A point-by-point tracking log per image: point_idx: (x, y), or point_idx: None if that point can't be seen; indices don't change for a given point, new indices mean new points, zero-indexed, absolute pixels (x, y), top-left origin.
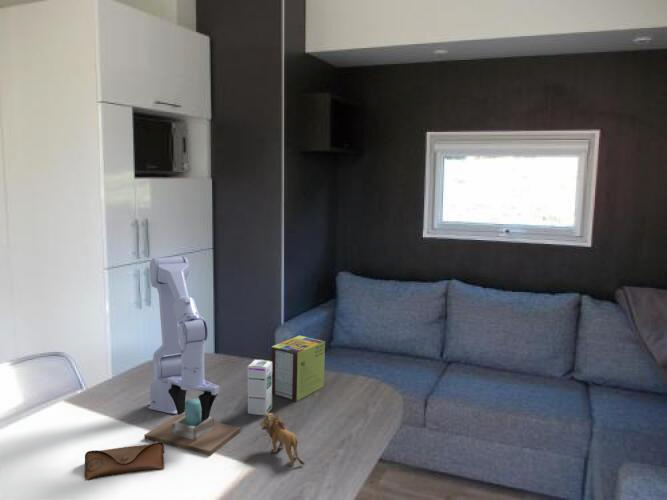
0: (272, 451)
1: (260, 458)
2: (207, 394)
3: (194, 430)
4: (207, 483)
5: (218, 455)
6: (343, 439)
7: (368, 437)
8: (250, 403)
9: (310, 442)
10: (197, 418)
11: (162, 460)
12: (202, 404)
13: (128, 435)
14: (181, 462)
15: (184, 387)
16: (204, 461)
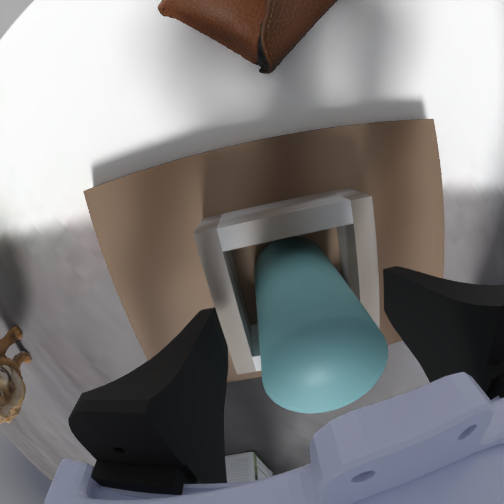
0: (13, 327)
1: (4, 283)
2: (127, 462)
3: (210, 227)
4: (2, 83)
5: (76, 212)
6: (17, 423)
7: (13, 436)
8: (246, 478)
9: (25, 398)
10: (258, 304)
11: (190, 16)
12: (163, 367)
13: (475, 118)
14: (139, 75)
15: (398, 449)
16: (79, 145)
